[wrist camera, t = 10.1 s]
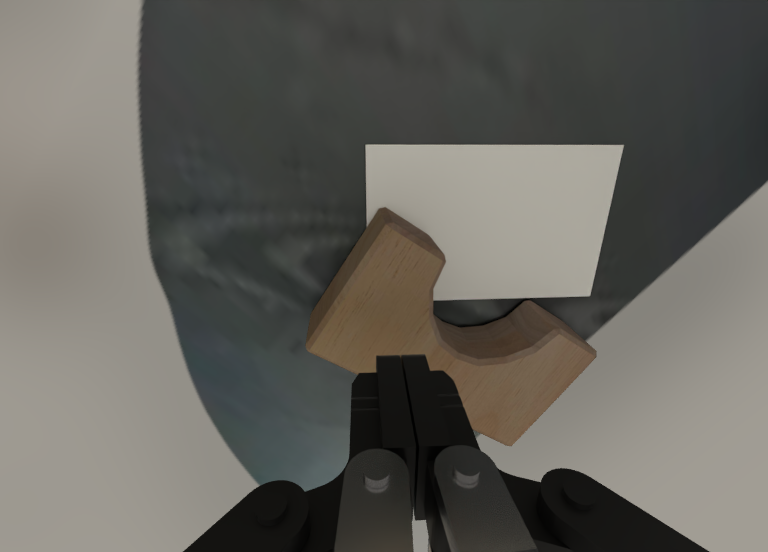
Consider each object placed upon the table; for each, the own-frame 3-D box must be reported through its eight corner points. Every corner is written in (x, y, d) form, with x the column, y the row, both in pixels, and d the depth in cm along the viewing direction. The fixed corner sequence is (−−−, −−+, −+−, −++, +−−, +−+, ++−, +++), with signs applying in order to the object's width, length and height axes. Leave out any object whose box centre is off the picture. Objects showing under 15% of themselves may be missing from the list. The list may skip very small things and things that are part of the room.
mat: (620, 144, 28) (623, 145, 28) (587, 294, 33) (590, 296, 32) (365, 144, 27) (365, 144, 26) (367, 300, 31) (367, 302, 31)
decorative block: (390, 219, 23) (603, 354, 28) (380, 203, 28) (562, 320, 34) (302, 353, 25) (512, 452, 31) (308, 315, 31) (487, 406, 36)
